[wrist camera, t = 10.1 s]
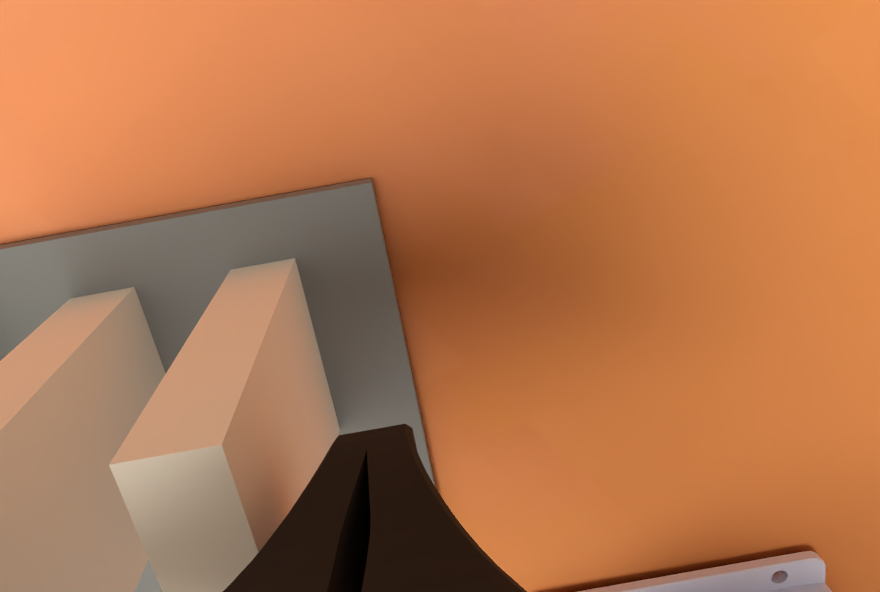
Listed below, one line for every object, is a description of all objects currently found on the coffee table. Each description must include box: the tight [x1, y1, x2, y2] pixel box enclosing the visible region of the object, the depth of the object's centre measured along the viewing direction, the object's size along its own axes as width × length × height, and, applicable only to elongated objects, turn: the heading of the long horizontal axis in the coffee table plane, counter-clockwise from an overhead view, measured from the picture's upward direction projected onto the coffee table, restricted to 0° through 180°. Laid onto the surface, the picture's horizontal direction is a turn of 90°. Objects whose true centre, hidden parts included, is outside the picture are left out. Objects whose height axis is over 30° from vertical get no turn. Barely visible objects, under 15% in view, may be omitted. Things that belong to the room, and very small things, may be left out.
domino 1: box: [0, 287, 166, 592], centre depth 14 cm, size 2×5×8 cm, turn 9°
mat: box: [0, 178, 436, 592], centre depth 20 cm, size 20×18×1 cm
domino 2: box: [109, 258, 340, 592], centre depth 14 cm, size 2×5×8 cm, turn 9°
